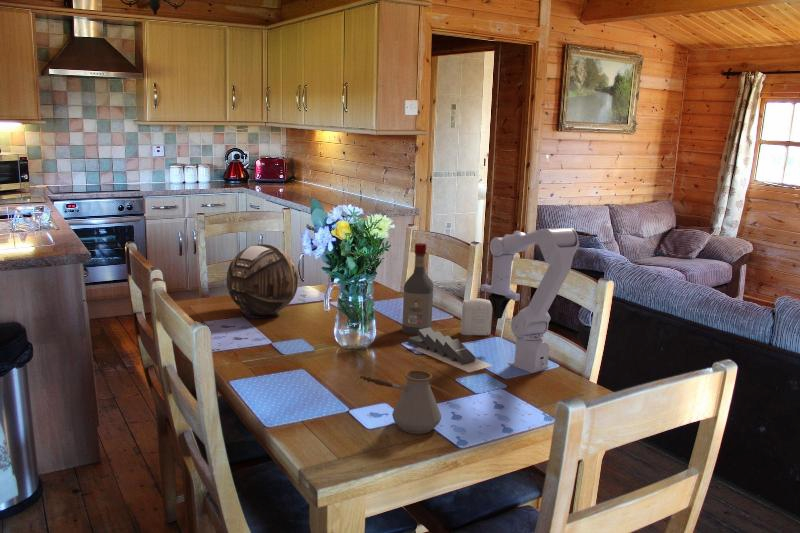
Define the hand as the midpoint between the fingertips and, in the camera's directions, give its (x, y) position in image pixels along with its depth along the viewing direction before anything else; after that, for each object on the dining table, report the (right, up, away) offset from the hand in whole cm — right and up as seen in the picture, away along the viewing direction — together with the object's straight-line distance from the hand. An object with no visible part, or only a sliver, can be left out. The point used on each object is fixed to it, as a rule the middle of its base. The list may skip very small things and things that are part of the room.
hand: (498, 317), depth 218 cm
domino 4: (-13, -11, -10) cm, 19 cm away
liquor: (-25, -6, +18) cm, 31 cm away
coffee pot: (-31, -22, -57) cm, 69 cm away
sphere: (-80, -1, +31) cm, 86 cm away
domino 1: (-20, -9, -1) cm, 22 cm away
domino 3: (-16, -10, -6) cm, 20 cm away
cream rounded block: (-5, -7, +17) cm, 19 cm away
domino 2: (-18, -9, -3) cm, 21 cm away
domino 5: (-10, -12, -12) cm, 20 cm away
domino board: (-15, -12, -7) cm, 20 cm away
